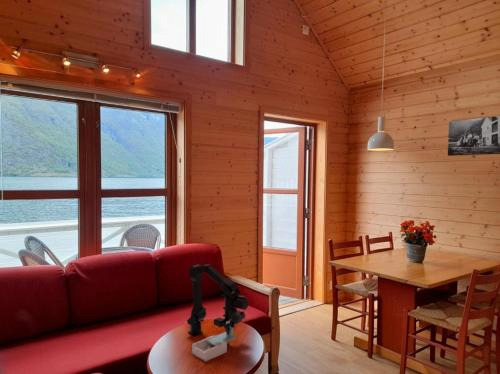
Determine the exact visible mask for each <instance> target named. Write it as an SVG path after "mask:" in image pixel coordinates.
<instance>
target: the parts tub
mask: <svg viewBox="0 0 500 374" xmlns="http://www.w3.org/2000/svg"><path fill="white" fill-rule="evenodd" d="M214 336H215V335H211V336H208V337H206V338H203V339H202V340H199V341H196V342H193V343H191V344H192V345H191V348H192V349H191V351H192V352H191V354H192V355H194V356H195V357H197V358H199V359H200V360H202V361H204V362H205V363H206V362H208V361H210V360H212V359H214V358H217V357H219V356H221V355H223V354H226V353H227V351H228V342H224V343H222V344H220V345H218V346H214V345H212V344H210V343H208V342H207V341H206V340H207V339H210V338H212V337H214Z"/></svg>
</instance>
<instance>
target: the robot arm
mask: <svg viewBox="0 0 500 374" xmlns="http://www.w3.org/2000/svg"><path fill="white" fill-rule="evenodd" d="M204 273H205V274H206V275H207V276H209V277H210V278H211V279H212V280H213V281H215V283H217V284H218V285H219V286H220V289H221V291H222V292H223V294H221V297H223V298H224V306H223V308H222V309H223V310H224V314H222V317H220V316H219V317H217V318H214V319H213V325H215V326H217V327H219V328H224V330H225V332H227V334H228V335H229V332H230V326H231V327H233V330H235V329H234V328H235V325H238V324H239V323H242V322H243V320H245V319H246V313H245V310H247V309H248V307H249V300H248V298H247V296H246V295H242V293H241V291H240V289H239V287H238V284H237V282H235V281H233V280H232V279H230V278H226V277H225V276H224V275H222V274H221V272H219V271H218V270H217V269H216V268H214V267H213V266H212V264H210V263H207V264H202V265H201V264H196V265H193V266H190V267H189V268H188V276H189V278H190V280H191V283H192V302H193V306H192V309H191V311H190V317H189V318H188V319H187V320H186V321H187V324H188V325H189V331H187V334H189V335H191V336H193V337H196V336H198V335H201V334H203V333H204V331H202V322H204V319H205V318H206V315H207V308H206V307H204V306H203V299H202V298H203V297H202V279H203V276H204ZM238 309H240V310H238ZM243 310H244V311H243Z"/></svg>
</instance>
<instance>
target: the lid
mask: <svg viewBox="0 0 500 374" xmlns="http://www.w3.org/2000/svg"><path fill="white" fill-rule="evenodd" d="M213 336H214V337H212V338H210V339H207V340H206V341H207V342H208V343H210V344H212V345H214V346H218V345H220V344H222V343H224V342H227V343H229V342H231V341H233V340H236V339H237V337H236V336H234V329H233V327H231V326H230V332H229V335H228V334H227V332H226V331H225V332H222V333H219V334H217V335H213Z"/></svg>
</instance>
